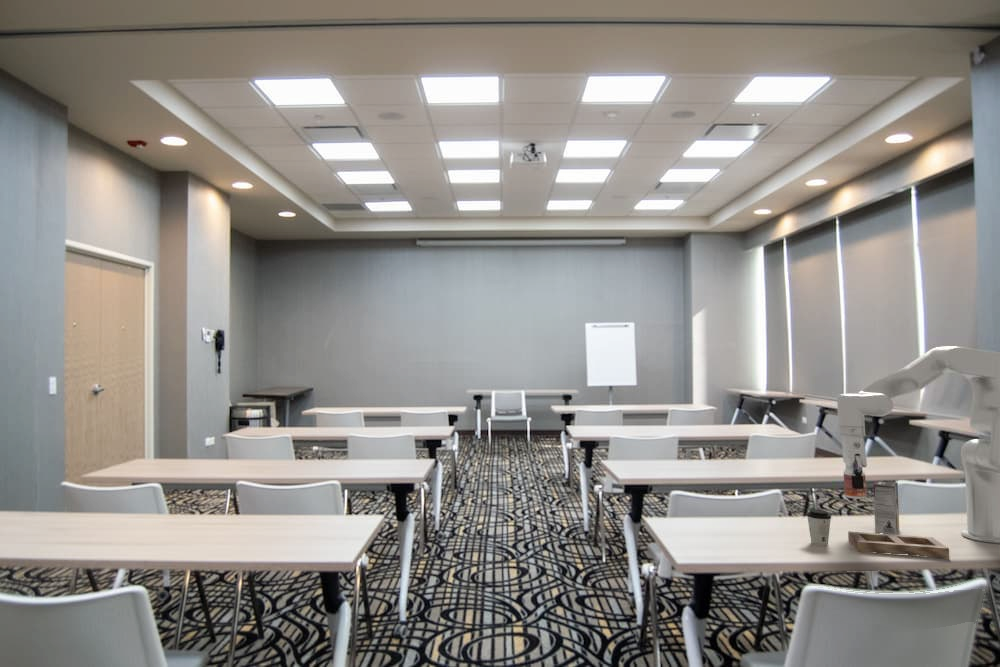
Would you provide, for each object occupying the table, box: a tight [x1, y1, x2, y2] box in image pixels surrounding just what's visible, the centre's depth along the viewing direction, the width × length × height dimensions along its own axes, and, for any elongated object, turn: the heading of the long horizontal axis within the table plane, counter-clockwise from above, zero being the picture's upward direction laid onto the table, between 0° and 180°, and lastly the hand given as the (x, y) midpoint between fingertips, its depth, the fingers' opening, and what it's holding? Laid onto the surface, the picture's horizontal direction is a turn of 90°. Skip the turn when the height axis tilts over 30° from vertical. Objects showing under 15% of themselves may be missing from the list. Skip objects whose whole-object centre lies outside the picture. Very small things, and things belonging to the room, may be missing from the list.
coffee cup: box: [806, 508, 832, 546], centre depth 188 cm, size 7×7×10 cm
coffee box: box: [873, 480, 900, 535], centre depth 203 cm, size 9×6×16 cm
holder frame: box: [847, 531, 950, 559], centre depth 182 cm, size 23×12×3 cm, turn 74°
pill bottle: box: [843, 463, 867, 500], centre depth 198 cm, size 6×6×11 cm
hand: (854, 485), depth 198 cm, fingers closed on pill bottle, 6 cm apart
